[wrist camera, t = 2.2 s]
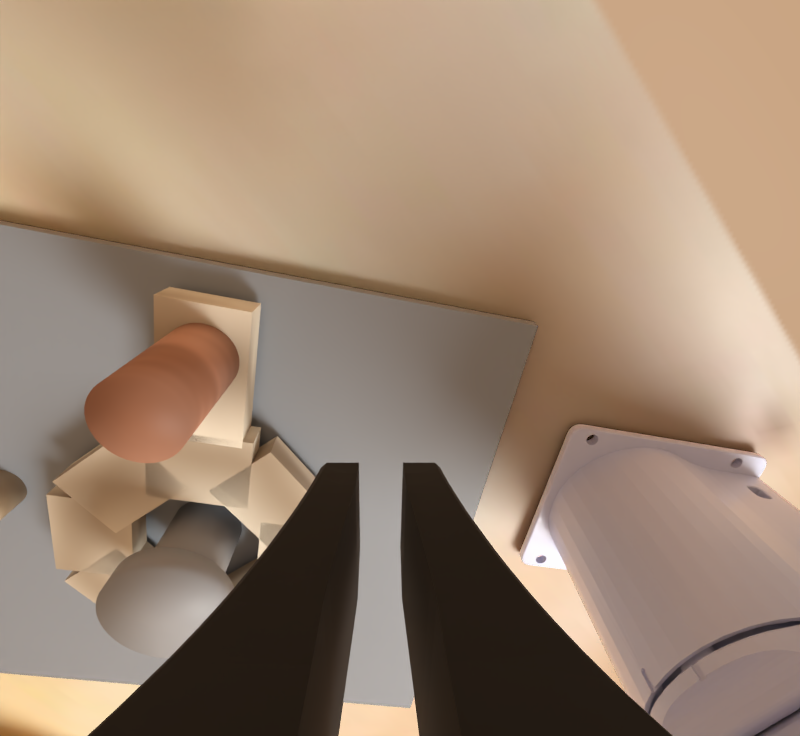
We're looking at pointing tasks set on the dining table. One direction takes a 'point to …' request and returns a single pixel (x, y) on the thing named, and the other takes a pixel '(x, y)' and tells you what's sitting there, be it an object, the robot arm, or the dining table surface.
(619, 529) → the robot arm
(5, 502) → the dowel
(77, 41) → the dining table surface
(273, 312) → the post board
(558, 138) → the dining table surface
